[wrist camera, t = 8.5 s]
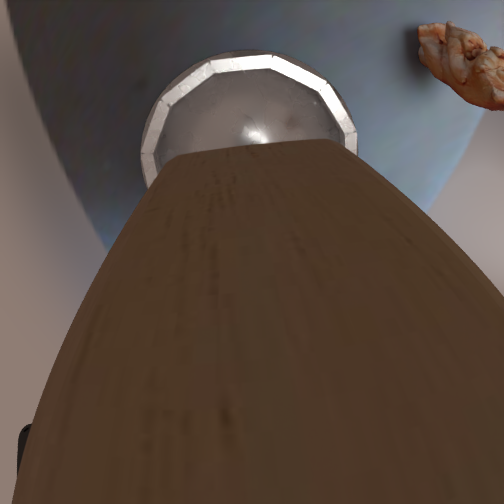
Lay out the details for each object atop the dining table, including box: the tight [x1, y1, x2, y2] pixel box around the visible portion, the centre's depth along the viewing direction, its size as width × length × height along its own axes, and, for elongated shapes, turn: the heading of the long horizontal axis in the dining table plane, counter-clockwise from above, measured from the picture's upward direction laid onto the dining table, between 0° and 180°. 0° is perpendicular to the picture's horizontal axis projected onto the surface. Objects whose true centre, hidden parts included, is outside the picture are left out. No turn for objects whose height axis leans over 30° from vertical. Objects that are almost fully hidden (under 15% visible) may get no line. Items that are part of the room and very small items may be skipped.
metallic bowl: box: [141, 50, 358, 190], centre depth 29 cm, size 22×22×2 cm
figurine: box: [417, 21, 504, 111], centre depth 17 cm, size 6×8×15 cm
